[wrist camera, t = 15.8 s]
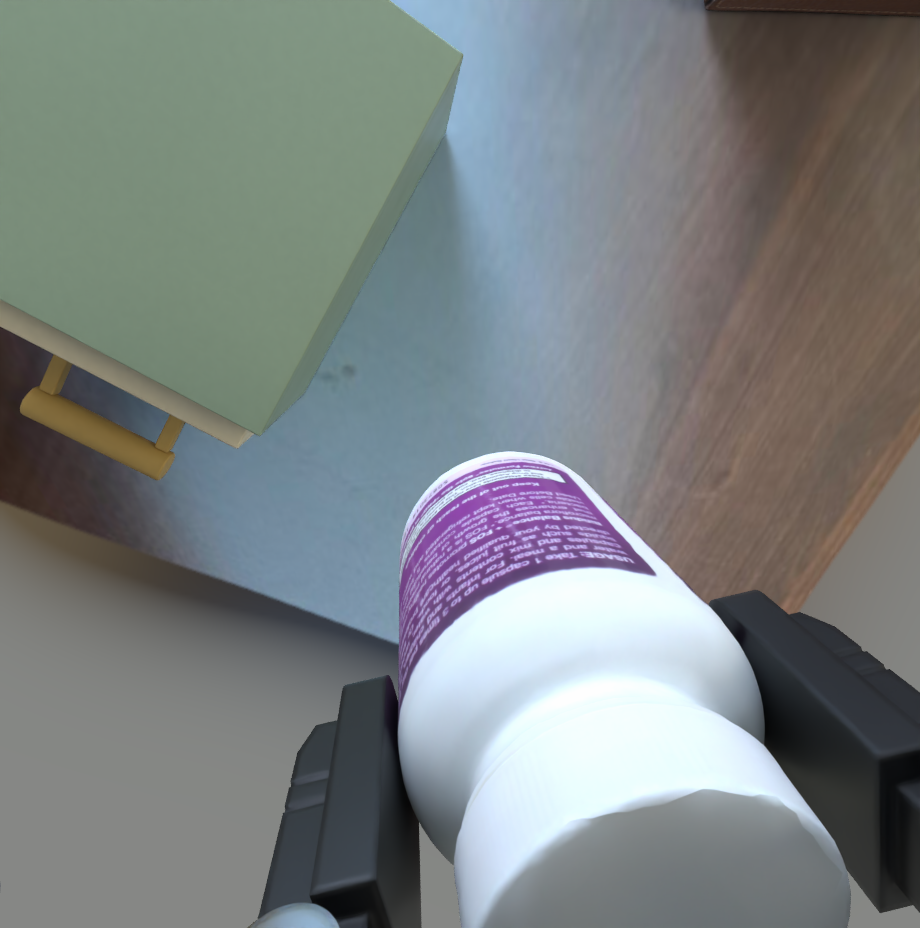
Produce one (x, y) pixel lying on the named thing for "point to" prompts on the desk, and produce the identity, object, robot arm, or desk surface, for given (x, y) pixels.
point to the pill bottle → (588, 723)
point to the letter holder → (821, 6)
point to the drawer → (95, 428)
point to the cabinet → (210, 178)
